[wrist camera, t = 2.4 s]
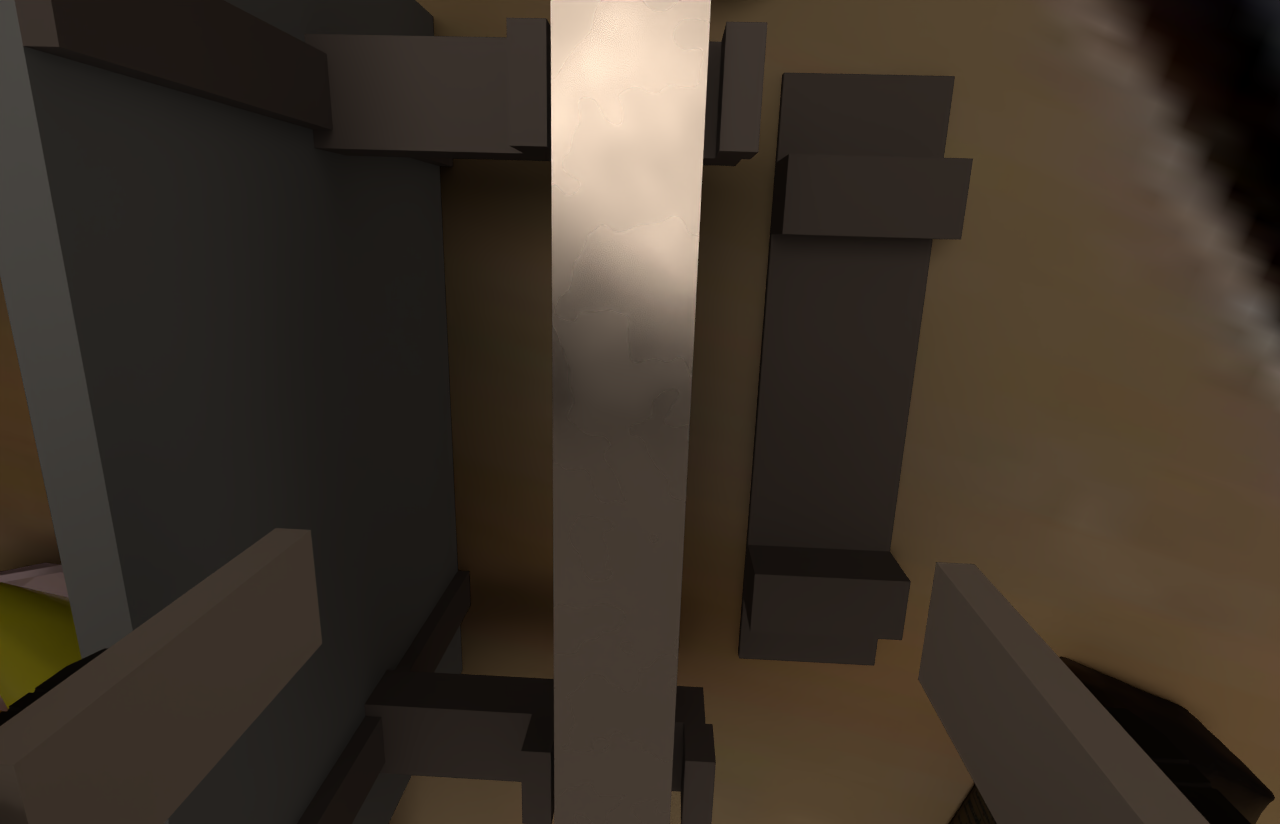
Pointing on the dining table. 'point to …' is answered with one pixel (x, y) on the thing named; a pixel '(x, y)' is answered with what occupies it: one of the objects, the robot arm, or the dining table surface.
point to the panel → (283, 355)
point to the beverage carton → (1179, 729)
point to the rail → (621, 389)
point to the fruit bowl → (34, 629)
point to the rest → (842, 357)
